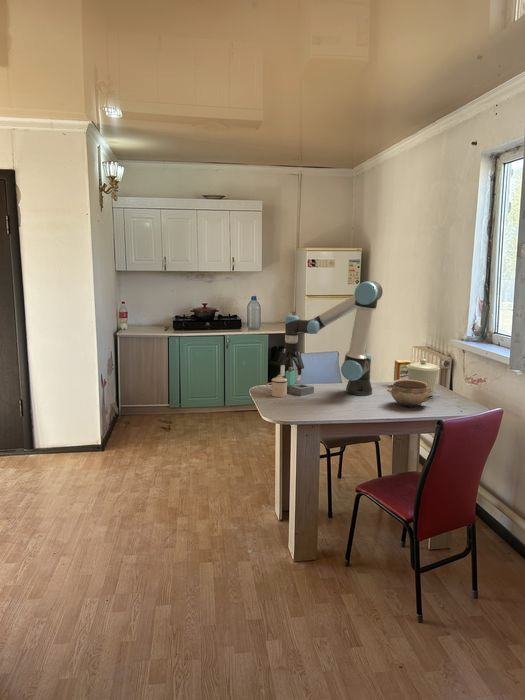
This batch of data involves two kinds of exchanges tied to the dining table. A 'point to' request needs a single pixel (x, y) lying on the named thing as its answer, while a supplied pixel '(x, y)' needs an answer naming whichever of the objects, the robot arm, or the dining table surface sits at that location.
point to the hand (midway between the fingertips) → (290, 378)
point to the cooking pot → (409, 392)
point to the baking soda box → (401, 369)
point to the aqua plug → (290, 376)
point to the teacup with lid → (278, 386)
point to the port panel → (301, 389)
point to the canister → (424, 373)
